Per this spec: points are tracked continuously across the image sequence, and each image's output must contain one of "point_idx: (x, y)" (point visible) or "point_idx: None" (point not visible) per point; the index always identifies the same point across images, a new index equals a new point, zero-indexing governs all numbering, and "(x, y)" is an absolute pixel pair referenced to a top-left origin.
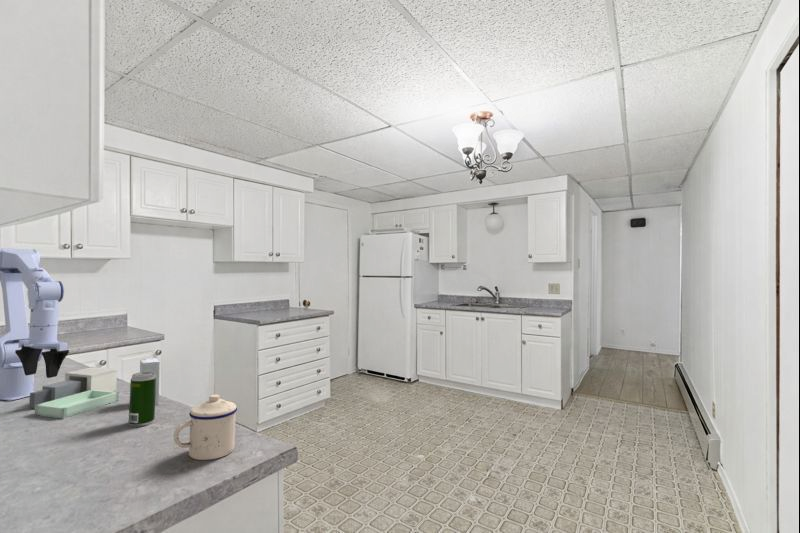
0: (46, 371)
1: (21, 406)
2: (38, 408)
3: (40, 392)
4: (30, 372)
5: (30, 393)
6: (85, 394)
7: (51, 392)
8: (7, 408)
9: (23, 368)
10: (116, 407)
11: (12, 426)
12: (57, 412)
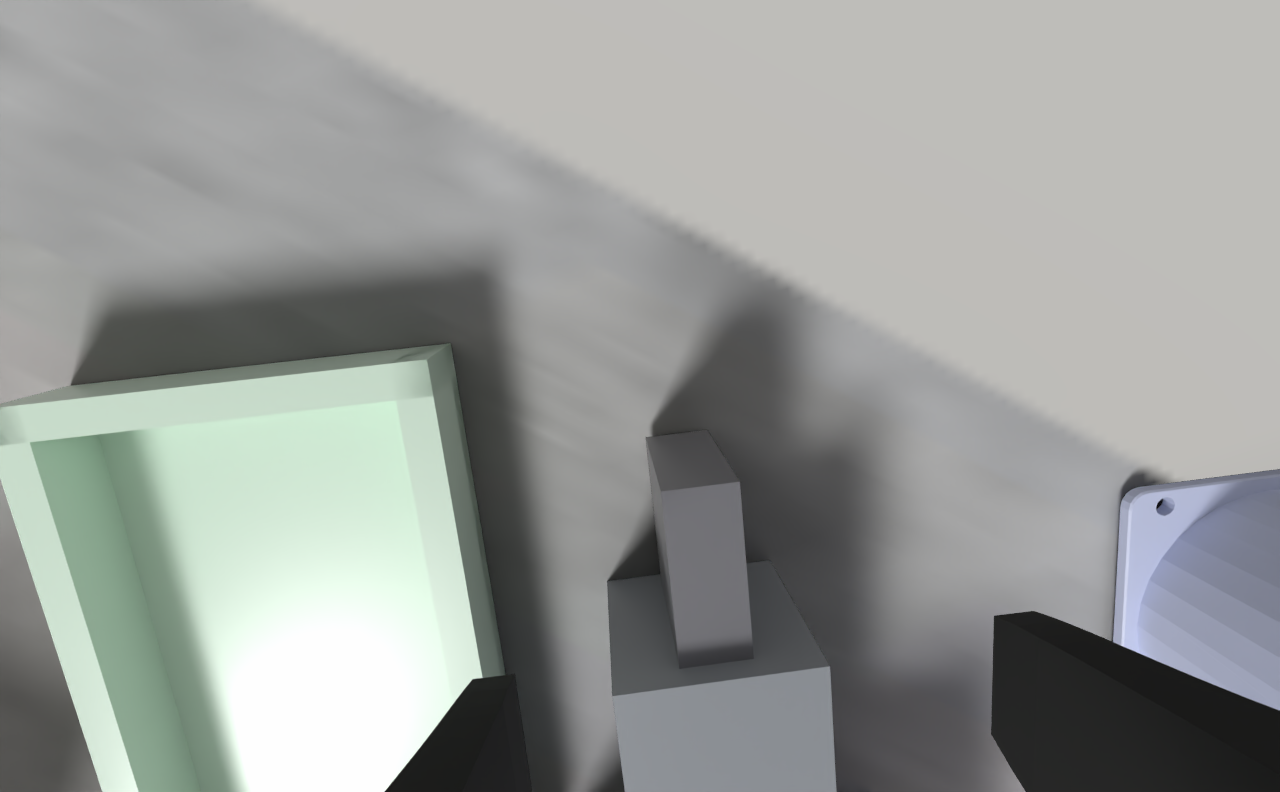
0: (466, 739)
1: (863, 444)
2: (384, 358)
3: (666, 552)
4: (1020, 691)
5: (733, 480)
6: None
7: (665, 647)
8: (918, 357)
9: (1149, 660)
10: (13, 779)
11: (250, 51)
12: (114, 388)
